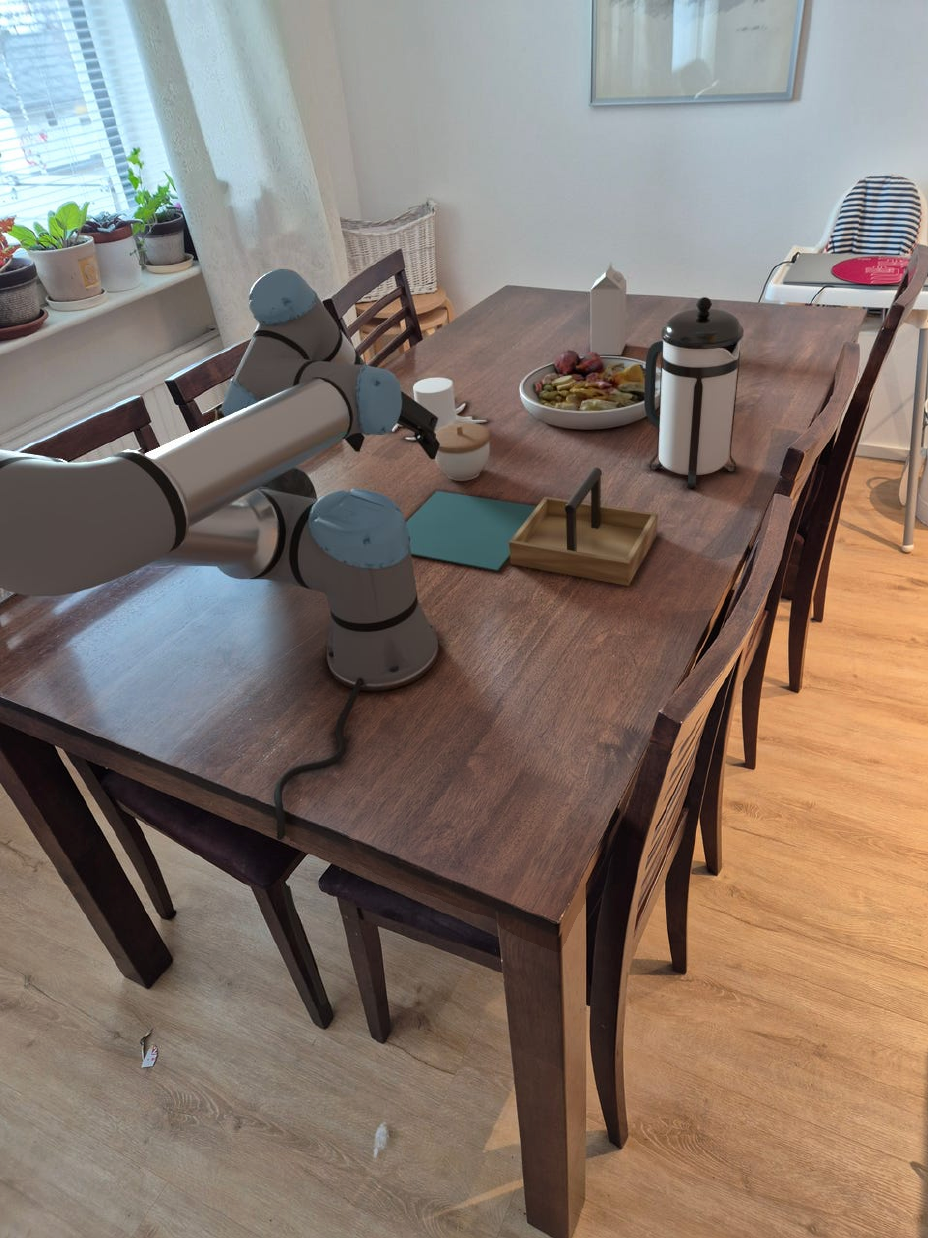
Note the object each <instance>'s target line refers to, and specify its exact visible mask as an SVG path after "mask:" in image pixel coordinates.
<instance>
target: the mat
mask: <svg viewBox="0 0 928 1238" xmlns="http://www.w3.org/2000/svg"><path fill="white" fill-rule="evenodd" d="M537 506H538V505H531V504H526V503H525V504H524V503H517V502H512V501H505V500H498V499H493V498H492V499H491V498H485V497H479V496H472V495H466V494H460V493H453V492H448V491H447V492H446V491H442V490H441V491H440V490H436V491H435V492H434V493H433V495H431V496H430V498H429V499H428V500H427V501H426V502H425V503H423V504H422V505H421V507H420V508H418V510H417V511H416V512H415V513H414V514H412V516H410V518H409V519H408V520H407V521H405V523H406V527H407V529H408V533H409V536H410V543H411V544H410V550H411V556H415V557H420V558H426V559H430V560H436V561H441V562H447V563H451V564H457V565H462V566H467V567H471V568H477V569H483V570H488V571H494V572H499V571H500V569H501V568H502V567H503V565H504V564H505V563H506V562H507V561H508V559H510V551H509V542H510V540H511V539H512V538H513V537H514V535H515V534H516V533H517V531H518V530H519V529H520V528H521V526H522V525H523V524H524V523H525V521H526V520H527V519H528V517H529V516H530V515H531V514H532V512H533V511H534V510H535V509H536V507H537Z"/></svg>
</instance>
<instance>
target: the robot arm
mask: <svg viewBox="0 0 928 1238" xmlns="http://www.w3.org/2000/svg"><path fill="white" fill-rule="evenodd" d="M248 307H249V310H250V312H251V313H252V315H253V318H254V319H255V321H257V322H258V323H257V325H256V328H254V329H255V330H254V332H253V334H252V338H251V340H250V342H249V344H248V346H247V349H246V351H245V353H244V354H243V356H242V358H241V361H240V363H239V364H238V367H237V369H236V371H235V372H234V375H233V377H232V378H231V379H230V380H229V385H228V387H227V390H226V393H225V395H224V399H223V401H222V403H221V404H222V412H223V414H224V416H225V418H223V419H221V420H219V421H214V422H212V423H210V424H208V425H206V426H203V427H201V428H199V429H197V430H195V431H192V432H190V433H188V434H186V435H184V436H181V437H179V438H177V439H175V440H172V441H170V442H168V443H165V444H164V445H162V446H159V447H157V448H155V449H153V450H150V451H148V452H146V453H143V452H141V451H137V450H130V449H125V450H122V451H119V452H116V453H114V454H113V455H110V456H108V457H105V458H102V459H98V460H93V461H82V462H68V461H67V460H63V459H62V458H56V457H51V456H44V455H38V454H31V453H25V452H19V451H13V450H7V449H0V589H2V590H4V591H7V592H10V593H13V594H17V595H21V596H29V597H60V596H65V595H71V594H76V593H78V592H82V591H86V590H90V589H93V588H95V587H99V586H101V585H105V584H107V583H110V582H113V581H116V580H118V579H120V578H123V577H124V576H127V575H130V574H131V573H133V572H135V571H137V570H140V569H142V568H144V567H146V566H149V565H150V566H151V565H153V566H184V567H187V566H188V567H217V569H219V571H220V572H222V573H223V574H224V575H226V576H227V577H229V578H232V579H237V580H268V581H276V582H282V583H286V584H290V585H293V586H298V587H300V588H305V589H308V590H312V591H316V592H319V593H323V594H324V595H325V596H326V600H327V602H328V608H329V611H330V616H331V620H330V626H329V632H328V637H327V638H328V639H327V645H326V659H327V664H328V668H329V671H330V673H331V675H332V676H333V678H335V680H336V681H337V682H338V683H340V684H342V685H343V686H345V687H348V688H349V689H352V690H351V692H350V694H349V696H348V699H347V701H346V703H345V705H344V707H343V709H342V711H341V713H340V715H339V717H338V719H337V722H336V725H335V737H336V740H337V744H338V749H337V751H336V752H335V753H334V754H333V755H332V756H330V757H328V758H325V759H323V760H318V761H312V762H308V763H304V764H299V765H297V766H294V767H292V768H290V769H289V770H287V771H286V772H285V773H284V774H283V775H282V776H281V778H279V780H278V782H277V783H276V785H275V787H274V791H273V800H274V807H275V813H276V839H277V840H279V841H282V840H283V839H284V838H285V836H286V818H285V817H286V816H285V810H284V809H285V808H284V803H283V790H284V787H285V786H286V784H287V783H288V782H289V780H291V779H292V778H293V777H295V776H296V775H299V774H302V773H305V772H310V771H315V770H320V769H324V768H328V767H330V766H332V765H335V764H336V763H337V762H339V761H340V760H341V759H342V758H343V757H344V755H345V753H346V750H347V744H346V739H345V737H344V733H343V731H344V727H345V723H346V721H347V718H348V716H349V714H350V712H351V710H352V708H353V706H354V704H355V702H356V700H357V698H358V695H359V694H360V691H362V692H363V691H364V692H385V691H391V690H395V689H399V688H402V687H405V686H407V685H410V684H412V683H414V682H415V681H417V680H419V679H420V678H422V677H423V676H424V675H426V674H427V673H428V672H429V671H430V670H431V669H432V668H433V666H434V665H435V663H436V661H437V659H438V656H439V650H440V649H439V641H438V636H437V633H436V631H435V630H436V629H435V628H434V626H433V625H432V623H431V621H430V620H429V619H428V618H427V616H426V614H425V612H424V610H423V608H422V606H421V604H420V602H419V598H418V591H417V584H416V577H415V570H414V564H413V558H412V557H413V556H412V555H411V550H410V544H411V543H410V536H409V533H408V529H407V527H406V520H405V515H404V513H403V511H402V509H401V508H400V506H399V505H398V503H396V502H395V501H394V500H393V499H391V498H390V497H388V496H386V495H385V494H383V493H380V492H377V491H374V490H371V489H370V490H369V489H364V488H363V489H360V488H352V489H351V490H350V491H346V490H345V489H340V490H335V491H332V492H330V493H328V494H325V495H324V496H321V497H320V498H317V499H313V498H308V497H303V496H298V495H293V494H288V493H283V492H278V491H276V490H273V489H270V488H266V487H261V486H262V485H264V484H266V483H268V482H269V481H271V480H273V479H275V478H276V477H278V476H280V475H282V474H283V473H285V472H287V471H288V470H290V469H292V468H294V467H295V466H297V467H298V466H299V465H301V464H302V463H304V462H306V461H308V460H309V459H311V458H313V457H315V456H317V455H318V454H320V453H321V452H323V451H325V450H327V449H329V448H330V447H332V446H335V444H338V443H339V442H340V441H343V440H345V442H346V443H347V444H348V445H349V446H350V447H351V448H352V449H353V451H354V452H356V453H360V452H361V449H362V447H363V444H364V441H365V439H366V437H365V436H371V435H373V436H385V435H387V434H389V433H390V432H391V431H392V429H393V428H394V426H395V425H396V424H399V425H401V426H403V427H402V428H405V429H407V430H408V431H411V432H413V433H414V435H413V438H414V437H415V438H416V440H415V441H417V443H418V444H419V445H420V447H421V448H422V450H423V451H424V453H425V454H426V455H427V456H428V458H429V459H430V460H435V457H436V454H437V451H438V448H439V445H440V443H439V442H438V440H437V439H436V434H435V431H436V430H435V427H436V424H437V421H438V417H437V416H435V415H434V414H432V413H431V412H430V411H428V410H427V409H426V408H424V407H423V406H421V405H420V404H419V403H417V402H416V401H415V399H413V398H412V397H411V396H409V395H408V394H406V393H405V392H404V391H402V387H401V384H400V382H399V380H398V378H397V376H396V375H395V374H394V373H393V372H391V371H390V370H388V369H385V368H380V367H376V366H370V365H369V364H367V363H366V362H365V361H364V359H363V358H362V357H361V355H360V354H359V352H358V351H357V350H356V349H355V348H354V346H353V344H352V343H351V342H350V340H349V339H348V337H347V336H346V335H345V334H344V332H343V331H342V330H341V328H340V326H339V325H338V324H337V322H336V321H335V320H334V318H333V317H332V315H331V314H330V312H329V310H328V309H327V308H326V306H325V305H324V304H323V302H322V300H321V299H320V298H319V296H318V294H317V292H316V291H315V290H314V289H313V288H312V287H311V286H310V284H308V282H307V281H306V280H305V279H304V278H303V277H302V276H301V275H300V274H299V273H298V272H297V271H296V270H293V269H289V268H277V269H273V270H271V271H269V272H267V273H265V274H263V275H262V276H261V277H260V278H259V279H257V281H256V282H255V283H254V284H253V286H252V287H251V289H250V292H249V294H248ZM401 426H400V427H401ZM281 888H282V894H283V897H284V902H285V906H286V910H287V914H288V918H289V921H290V925H291V928H292V932H293V933H294V937H295V940H296V943H297V945H298V948H299V951H300V954H301V955H302V956H301V957H302V959H303V961H304V963H305V965H306V968H307V971H308V974H309V976H310V978H311V981H312V985H313V986H314V990H315V993H316V995H317V998H318V1002H319V1004H320V1005H321V1006H325V1005H326V1004H327V1003H328V1002H327V1001H328V999H327V998H326V994H325V992H324V989H323V985H322V982H321V979H320V976H319V974H318V971H317V969H316V966H315V963H314V961H313V959H312V956H311V953H310V951H309V947H308V945H307V942H306V940H305V937H304V935H303V932H302V928H301V924H300V921H299V918H298V915H297V911H296V906H295V903H294V898H293V893H292V889H291V885H288V884H286V883H282V882H281Z"/></svg>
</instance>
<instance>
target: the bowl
mask: <svg viewBox="0 0 928 1238" xmlns="http://www.w3.org/2000/svg"><path fill="white" fill-rule="evenodd" d="M645 365H646V361H644V360H640V359H636V358H633V357H632V358H631V357H625V356H618V355H598V354H597V353H595V352H591V351H589V352H587V353H585V355H583V356H580V355H579V354H578V353H577V352H576V351H574V350H570V349H568V350H564V351H562V352H560V353H559V354H557V356H556V357H555V360H554V362H550V363H548V364H547V363H546V364H545V365H542V366H540V367H538V368H536V369H534V370H532V371H531V372H529V373H528V374H527V375H526V376H524V378H522V380H521V382H520V385H519V395H520V400H521V402H522V405H523V406H524V408H525V409H526V410H527V412H528V413H529V414H531V415H532V416H533V417H535V418H536V419H538V420H539V421H541V422H543V423H546V424H547V425H551V426H555V427H559V428H563V429H570V430H584V431H585V430H587V431H588V430H589V431H590V430H592V431H593V430H604V429H612V428H618V427H622V426H626V425H629V424H632V423H635V422H637V421H641V420H642V419H644V418H646V417H647V414H646V411H645V404H644V389H645ZM660 377H661V368H660V367H658V366H656V382H655V409H656V410H657V409H659V399H660ZM661 385H662V378H661ZM660 405H661V400H660Z"/></svg>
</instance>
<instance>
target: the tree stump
mask: <svg viewBox="0 0 928 1238" xmlns="http://www.w3.org/2000/svg"><path fill="white" fill-rule="evenodd" d="M412 389H413V396H414V400H415V401H416V402H417V403H419V404H420V405H421V406H423V407H424V408H426V409H427V410H428V411H430V412H431V413H432V414H434V415H435V416H437V417H438V421H437V424H436V427H435V430H434V431H436V430H438V429H439V428H441V427H444V426H447V425H450V424H455V423H475V424H483V423H487V422H488V420H486V419H473V416H470V415H469V416H461V415H458V414H459V413H461V412H462V411H463V410H464V408H465V407H466V405H467V404H466V403H465V402H464V403H463V404H461V405H460V406H459V407H457V408H456V401H455V391H454V382H453V380H452V379H449V378H446V377H428V378H427V377H426V378H425V379H421V380H419V381H417V382H415V383H414V385H413V386H412ZM399 427H402V428H404V427H403V426H401V425H399V424H396V425H395V426H394V428H393V429H392V430H391V431H392V432H393V433H394V432H395V431H396V430H397V429H398V428H399ZM405 440H407V441H417V440H416V438H415V437H414V436H413V437H405Z"/></svg>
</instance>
